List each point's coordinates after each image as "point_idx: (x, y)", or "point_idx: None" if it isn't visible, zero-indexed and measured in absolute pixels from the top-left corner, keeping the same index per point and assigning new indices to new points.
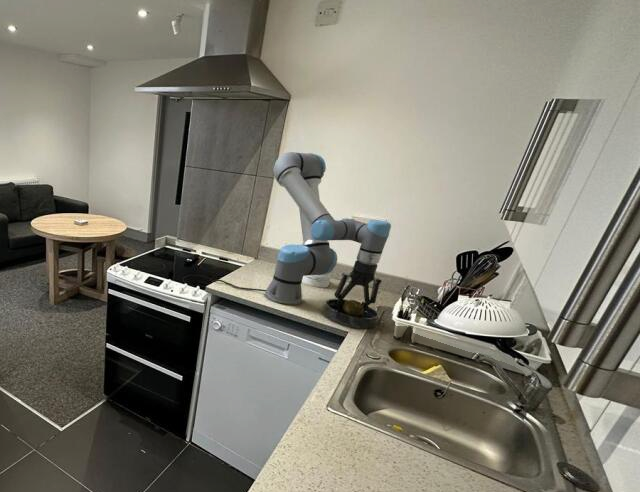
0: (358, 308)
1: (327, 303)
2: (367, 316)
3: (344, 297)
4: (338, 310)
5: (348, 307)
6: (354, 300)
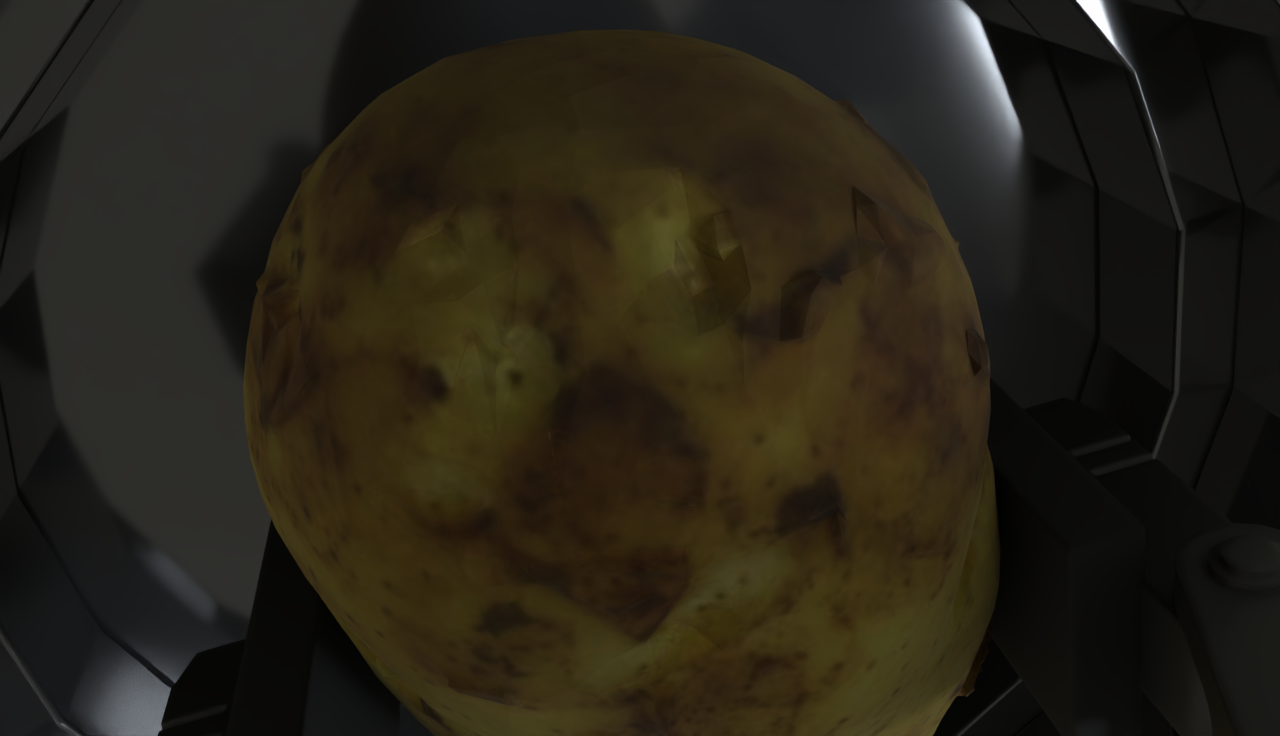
0: (510, 122)
1: None
2: (153, 707)
3: (1218, 655)
4: None
5: (901, 159)
6: (752, 708)
